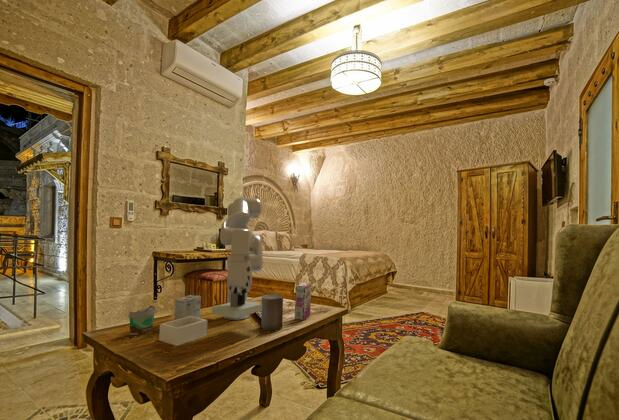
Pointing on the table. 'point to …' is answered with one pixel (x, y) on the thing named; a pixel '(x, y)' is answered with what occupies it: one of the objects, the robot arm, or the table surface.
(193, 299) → the light bulb box
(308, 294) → the candy bar box
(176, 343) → the tub
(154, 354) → the table surface
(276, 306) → the pillar candle
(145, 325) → the food container
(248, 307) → the lid
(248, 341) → the table surface
